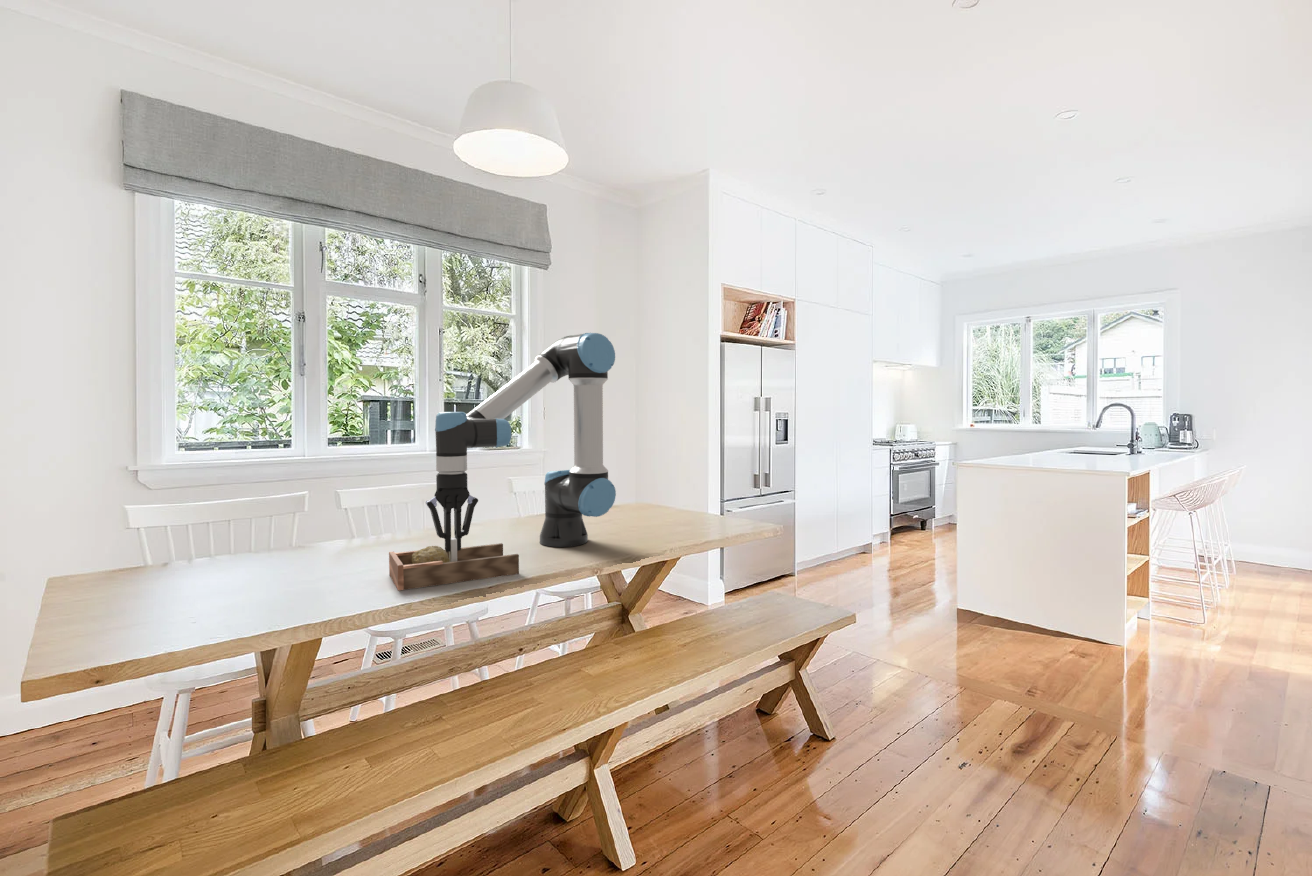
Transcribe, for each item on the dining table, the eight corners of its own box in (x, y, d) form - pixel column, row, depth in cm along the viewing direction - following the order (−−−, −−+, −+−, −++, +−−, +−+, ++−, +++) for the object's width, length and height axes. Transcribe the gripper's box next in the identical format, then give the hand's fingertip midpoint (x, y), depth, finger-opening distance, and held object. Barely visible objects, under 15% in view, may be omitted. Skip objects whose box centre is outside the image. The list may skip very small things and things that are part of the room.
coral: (452, 580, 155) (451, 550, 154) (412, 584, 151) (412, 553, 151) (449, 570, 163) (448, 542, 163) (411, 574, 160) (411, 545, 159)
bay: (501, 560, 174) (501, 539, 174) (518, 573, 161) (518, 551, 161) (389, 575, 159) (388, 552, 159) (398, 590, 146) (397, 565, 146)
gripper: (473, 469, 165) (474, 557, 166) (422, 472, 158) (423, 563, 160) (481, 472, 158) (482, 563, 160) (428, 475, 152) (429, 570, 153)
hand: (453, 563), depth 160 cm, fingers closed
